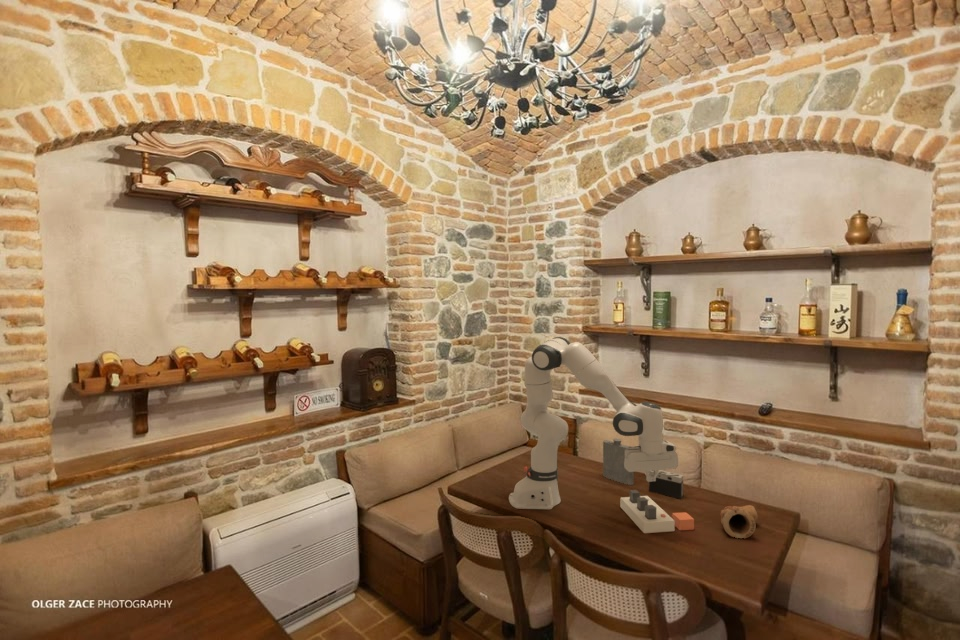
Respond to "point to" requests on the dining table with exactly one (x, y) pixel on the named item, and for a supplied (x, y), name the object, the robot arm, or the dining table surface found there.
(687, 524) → the cap
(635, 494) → the block
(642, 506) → the block
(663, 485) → the camera
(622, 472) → the hip flask
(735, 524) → the clay pipe
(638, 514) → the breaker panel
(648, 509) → the block
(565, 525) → the dining table surface
